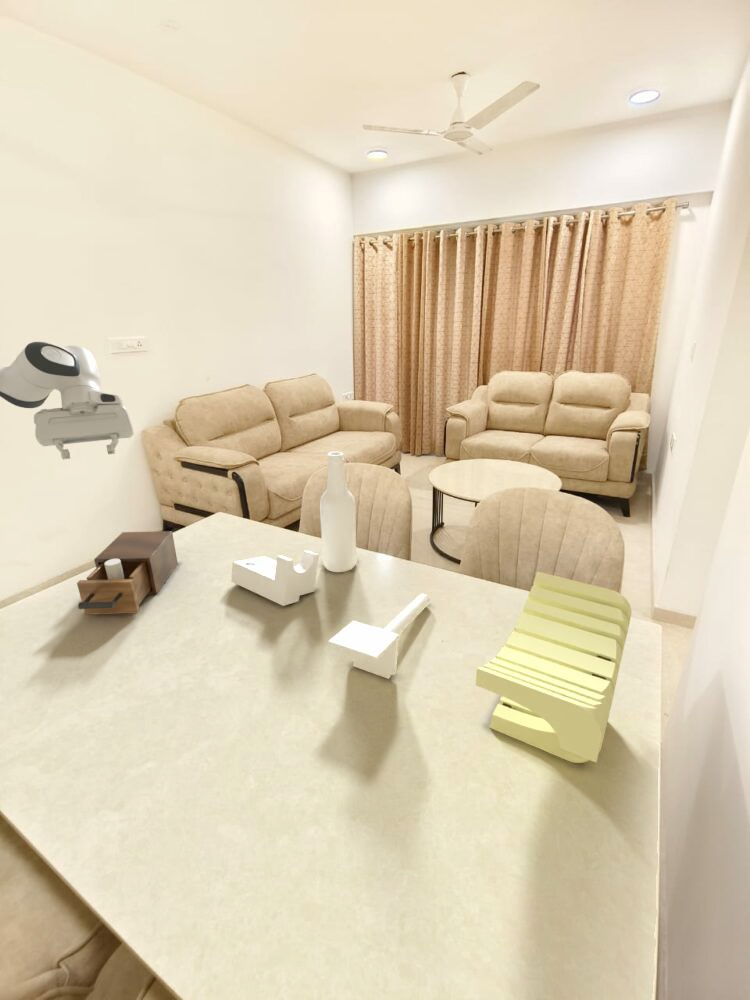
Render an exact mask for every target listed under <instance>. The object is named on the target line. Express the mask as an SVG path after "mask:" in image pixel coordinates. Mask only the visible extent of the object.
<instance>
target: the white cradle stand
mask: <svg viewBox="0 0 750 1000" xmlns="http://www.w3.org/2000/svg"><path fill="white" fill-rule="evenodd" d="M319 556H320V554H319V553H318V552H314V551H311V550H309V549H308V550H307V549H306V550H303V553H302V556H301V558H300V560H299V562H298V563H297V564H296V565H294V559H292V558H291V557H287V556H284V555H277V556H276V559H272V558H270V557H267V556H265V555H263V556H262V555H261V556H257V557H253V558H246V559H241V560H236V561H235V560H234V561H232V568H231V577H230V578H231V579H230V582H231V583H233V584H235V585H238V586H240V587H242V588H244V589H246V590H249V591H251V592H252V593H254V594H257V595H259V596H261V597H263V598H264V599H265V598H266V599H268V600H269V601H271V602H274V603H276V604H279V605H280V606H282V607H285V606H287V605H290V604H294V603H297V602H300V597H301V596H303V595H306V594H310V593H314V592H315V587H316V579H317V571H318V563H319Z"/></svg>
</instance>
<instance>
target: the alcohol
mask: <svg viewBox="0 0 750 1000" xmlns="http://www.w3.org/2000/svg"><path fill="white" fill-rule="evenodd" d="M344 456H345V454H344V453H343V452H341V451H329V452H327V454H326V457H327V459H326V461H327V477H326V478H327V482H326V489H325V491H324V492H323V493H322V494H321V497H320V500H319V518H320V519H319V520H320V534H321V535H320V536H321V550H322V551H321V552H322V553H321V554H322V555H321V556H322V564H323V566H324V568H325V569H326V570H327V571H330V572H333V573H345V572H349V571H350V570H352V569H354V568H355V567H356V565H357V563H358V553H357V552H358V551H357V521H356V520H357V519H356V500H355V497H354V495H353V493H352V492H351V491H350V490H349V489H348V486H347V481H346V480H347V479H346V470H345V458H344Z"/></svg>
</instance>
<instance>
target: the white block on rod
mask: <svg viewBox="0 0 750 1000" xmlns="http://www.w3.org/2000/svg"><path fill="white" fill-rule="evenodd" d="M430 603H431V598H430V596H429V595H427V594H426V593H420V594H419V595H417V597H416V598H415V599H413V600H412V601H411V602H410V603H409V604H408V605H407V606H406V607H405V608H404V609H403V610H402V611H401V612H400V613H398V615H396V616H395V617H394V619H392V620H391V621H390V622H389V623H388V624H387V625H385V627H384V628H382V627H378V626H373V625H370V624H366V623H363V622H360V621H357V620H352V621H351V622H349V623H348V624H347V625H346V626H345V627H343V628H342V629H341V630H340V631H338V632H337V633H336V634H335V635H333V637H331V638H330V639H329V640H328V641H327V642H328V644H329V645H331V646H334V647H337V648H340V649H342V650H346V651H348V652H349V654H348V660H349V661H352V664H353V665H352V666H353V667H354V668H357V669H360V670H362V671H365V672H368V673H370V674H374V675H376V676H378V677H382V678H385V679H388V680H390V678H391V677H392V676H395V675H396V674H397V670H398V669H397V667H398V652H399V638H400V637H399V636H400V634H401V633H403V631H404V630H406V628H407V627H408V626H410V624H411V623H412V622H413V621H415V619H416V618H417V617H418V616H419V615H420V614H421V613H422V612H423V611H424V610H425V608H427V607H428V605H430Z"/></svg>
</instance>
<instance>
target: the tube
mask: <svg viewBox="0 0 750 1000" xmlns="http://www.w3.org/2000/svg"><path fill="white" fill-rule="evenodd" d="M104 565H105V569H106V573H107V577H108V580H114V579H125V578H124V574H123V569H122V565H121V560H120V559H110V560H108V561H106V562H105V563H104Z"/></svg>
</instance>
